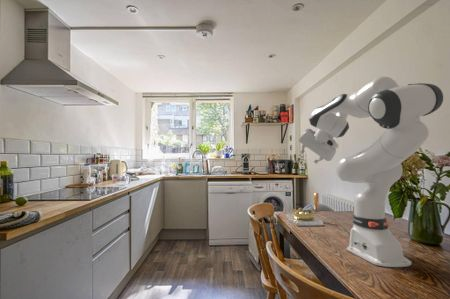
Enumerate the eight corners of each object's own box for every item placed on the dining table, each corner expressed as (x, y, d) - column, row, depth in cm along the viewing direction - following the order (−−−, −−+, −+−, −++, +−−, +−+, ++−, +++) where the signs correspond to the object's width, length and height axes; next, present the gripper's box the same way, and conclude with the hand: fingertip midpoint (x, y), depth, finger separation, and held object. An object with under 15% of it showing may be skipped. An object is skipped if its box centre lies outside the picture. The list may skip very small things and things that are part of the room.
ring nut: (323, 219, 139) (322, 194, 139) (297, 219, 138) (297, 195, 138) (314, 214, 151) (314, 191, 151) (290, 214, 150) (290, 191, 150)
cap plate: (323, 225, 134) (323, 221, 135) (296, 225, 134) (296, 222, 134) (309, 216, 154) (309, 213, 155) (286, 216, 154) (286, 213, 154)
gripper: (305, 126, 131) (291, 147, 136) (337, 146, 120) (321, 169, 124) (309, 127, 136) (296, 147, 141) (341, 147, 125) (325, 169, 129)
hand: (308, 158), depth 132 cm, fingers open, 8 cm apart
